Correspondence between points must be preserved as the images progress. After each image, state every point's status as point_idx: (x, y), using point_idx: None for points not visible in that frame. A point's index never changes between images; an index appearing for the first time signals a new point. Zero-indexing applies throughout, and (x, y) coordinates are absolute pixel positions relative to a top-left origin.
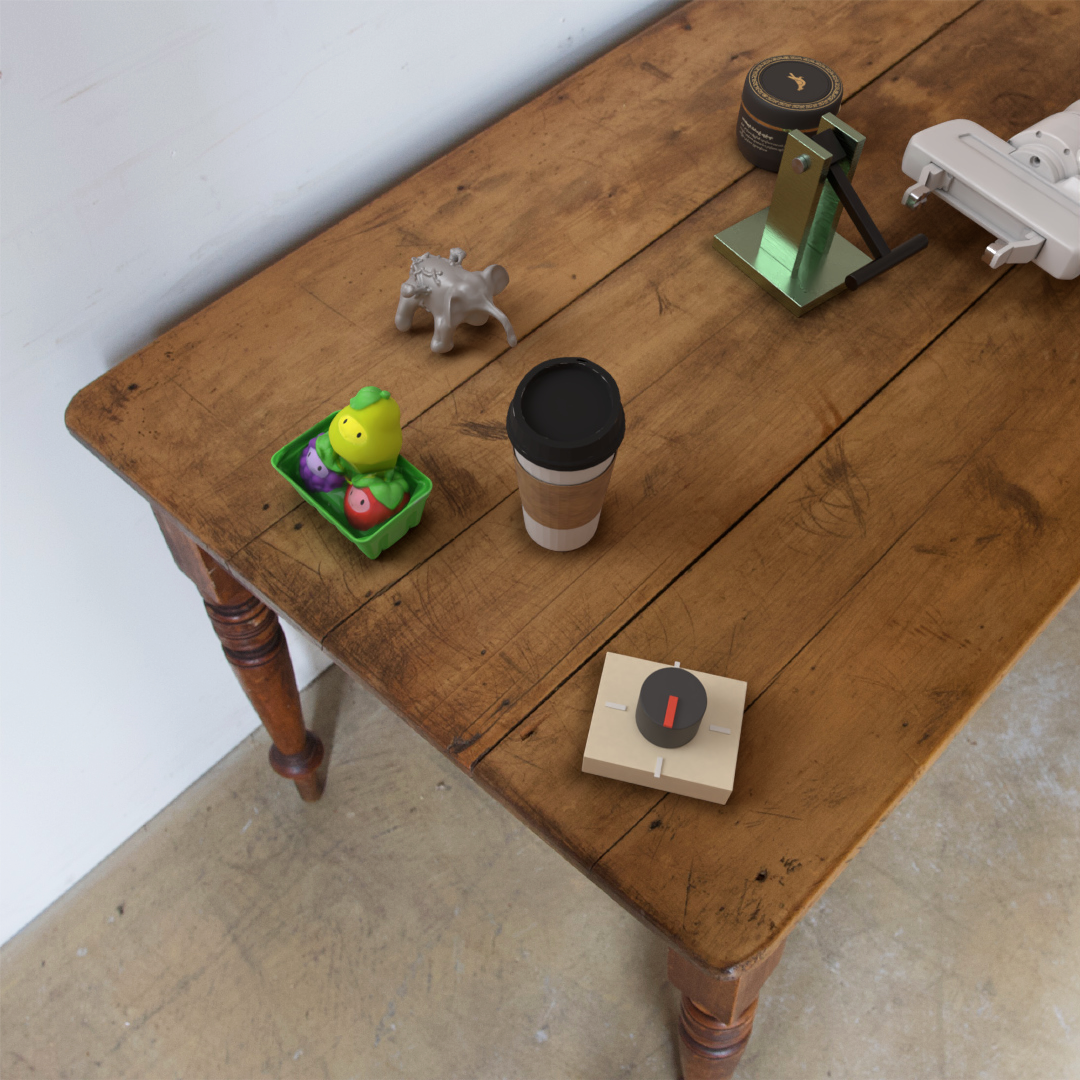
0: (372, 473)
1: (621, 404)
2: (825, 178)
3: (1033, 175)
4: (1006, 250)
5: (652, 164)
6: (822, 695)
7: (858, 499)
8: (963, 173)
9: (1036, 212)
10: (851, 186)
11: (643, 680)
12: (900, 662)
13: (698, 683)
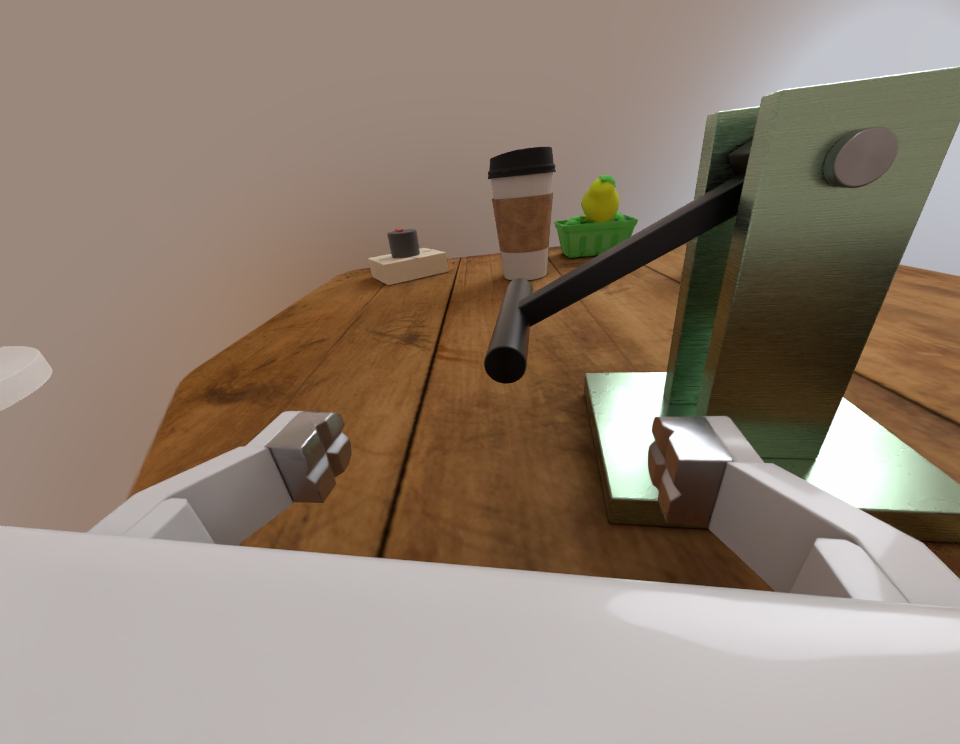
0: (584, 216)
1: (506, 169)
2: (705, 184)
3: None
4: (271, 425)
5: None
6: (351, 297)
7: (383, 337)
8: (711, 595)
9: (66, 606)
10: (677, 215)
11: (424, 254)
12: (315, 313)
13: (396, 233)
